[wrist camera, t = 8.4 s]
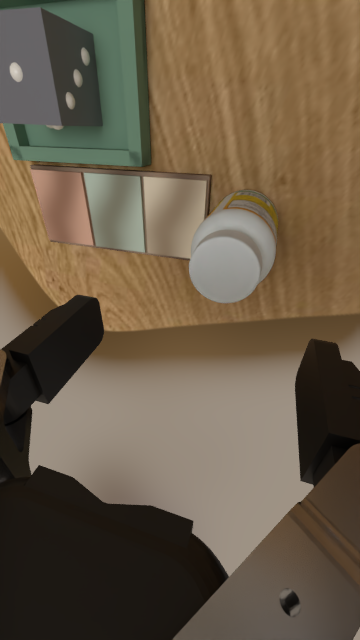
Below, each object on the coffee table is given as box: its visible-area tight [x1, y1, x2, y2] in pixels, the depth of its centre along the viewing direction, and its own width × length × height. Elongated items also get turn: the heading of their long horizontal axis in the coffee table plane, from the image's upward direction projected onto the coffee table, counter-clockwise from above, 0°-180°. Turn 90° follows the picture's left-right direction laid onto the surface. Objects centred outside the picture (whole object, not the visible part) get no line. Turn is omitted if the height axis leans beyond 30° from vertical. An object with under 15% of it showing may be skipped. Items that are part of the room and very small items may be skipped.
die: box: [0, 7, 103, 130], centre depth 18 cm, size 5×5×5 cm
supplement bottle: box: [189, 190, 278, 303], centre depth 19 cm, size 5×5×10 cm
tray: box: [0, 0, 151, 167], centre depth 20 cm, size 12×10×2 cm
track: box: [30, 165, 211, 260], centre depth 25 cm, size 16×7×1 cm, turn 89°
